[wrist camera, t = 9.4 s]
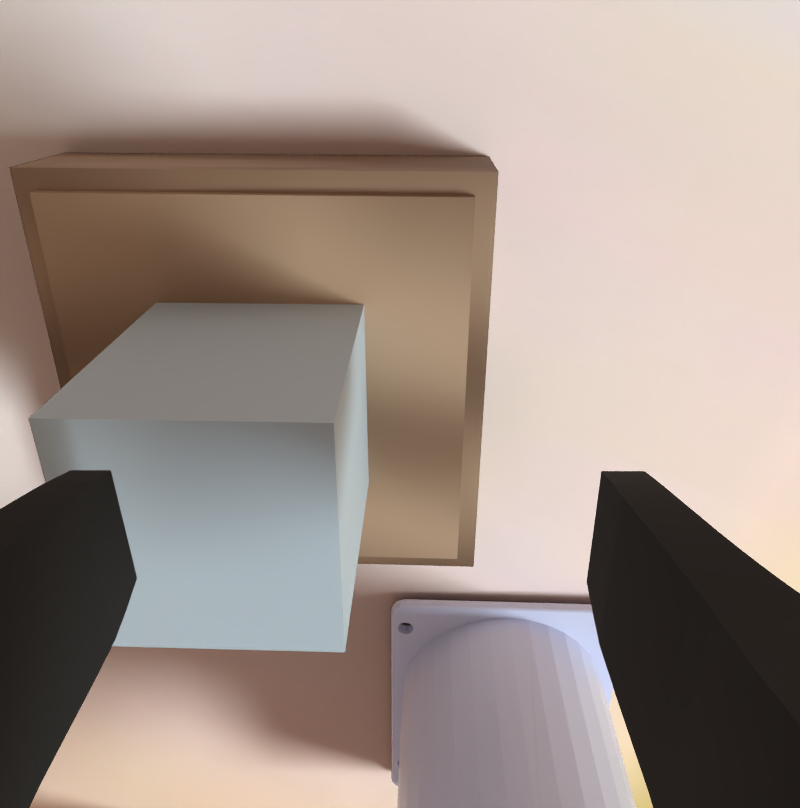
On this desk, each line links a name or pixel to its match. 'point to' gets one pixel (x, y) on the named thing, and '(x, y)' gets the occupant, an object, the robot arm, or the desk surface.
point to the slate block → (228, 469)
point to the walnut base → (298, 292)
